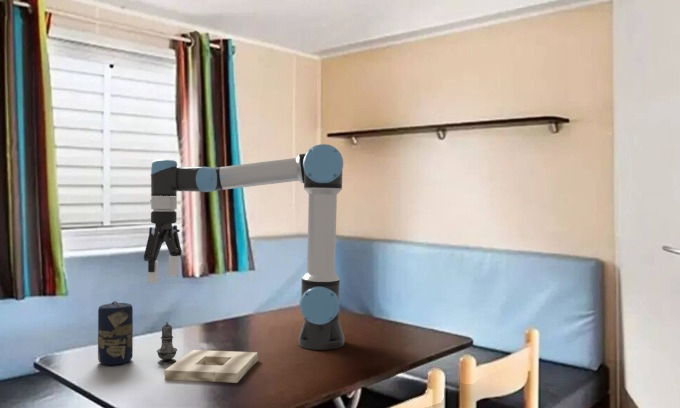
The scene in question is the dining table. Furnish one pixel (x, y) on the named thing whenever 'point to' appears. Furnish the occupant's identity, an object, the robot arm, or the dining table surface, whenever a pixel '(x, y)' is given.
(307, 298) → the robot arm
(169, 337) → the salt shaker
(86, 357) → the dining table surface
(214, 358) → the socket
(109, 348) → the canister
